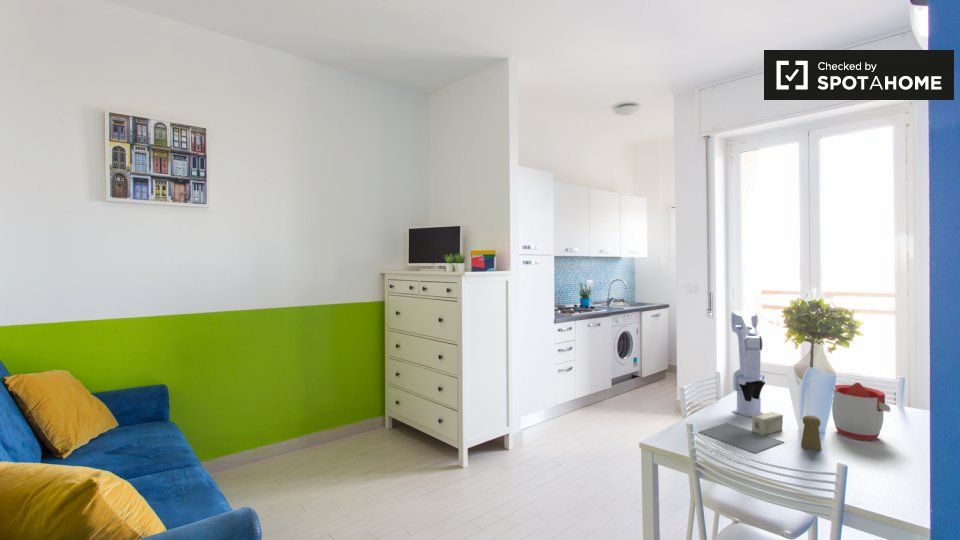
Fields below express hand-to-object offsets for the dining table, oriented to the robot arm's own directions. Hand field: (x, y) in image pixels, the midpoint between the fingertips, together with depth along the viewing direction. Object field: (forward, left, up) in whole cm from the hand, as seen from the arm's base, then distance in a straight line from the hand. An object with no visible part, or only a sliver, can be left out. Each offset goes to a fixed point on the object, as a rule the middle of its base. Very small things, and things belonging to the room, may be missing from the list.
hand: (751, 399), depth 188 cm
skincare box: (+7, +6, -7) cm, 12 cm away
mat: (+15, +5, -10) cm, 19 cm away
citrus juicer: (-24, +27, -11) cm, 37 cm away
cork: (+2, +23, -11) cm, 25 cm away
